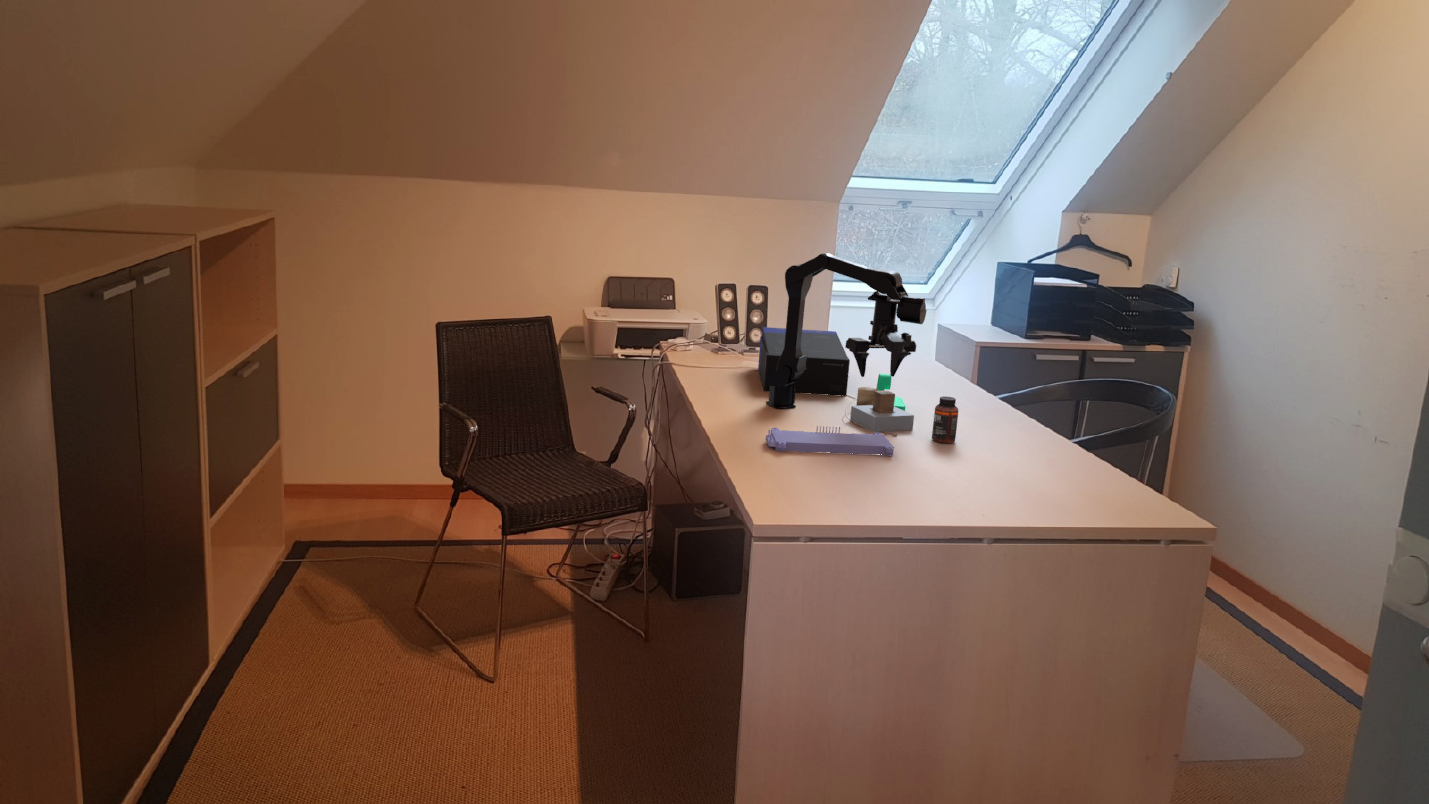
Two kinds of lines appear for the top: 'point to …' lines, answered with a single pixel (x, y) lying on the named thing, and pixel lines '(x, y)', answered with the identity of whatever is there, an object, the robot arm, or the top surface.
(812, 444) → the computer part
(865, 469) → the top surface
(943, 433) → the supplement bottle
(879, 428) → the socket block
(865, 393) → the round dowel
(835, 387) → the headphone box
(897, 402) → the green angle bracket
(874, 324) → the robot arm
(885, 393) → the square peg
